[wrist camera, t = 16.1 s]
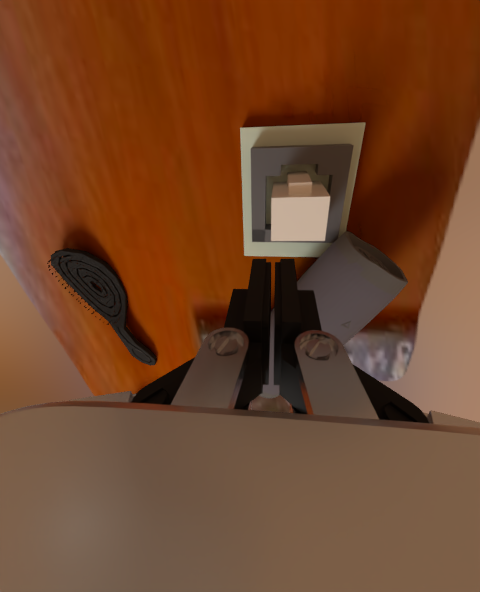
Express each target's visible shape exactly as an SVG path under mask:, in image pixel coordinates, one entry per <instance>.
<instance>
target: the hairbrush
mask: <svg viewBox="0 0 480 592" xmlns="http://www.w3.org/2000/svg"><path fill="white" fill-rule="evenodd" d="M62 256H63V257H62ZM69 260H71V261H69ZM50 261H51V266H53V268H55V270H56V271H57V273H59V274H60V275H61V277H62V279H63V280H65V281H66V282H67V283H66V282H65V283H66V284H68V287H69V285H70V286H71V287H72V288H73V289H74V292H77V293H78V295H80V296H81V297H82V298H83V299H84V300H85V302H87V303H88V305H89V306H91V307H92V308H93V309H94V310H96V311H97V312H98V313H99V314H100V315H102V316H103V317H104V318H105V319H106V320H108V321H109V323H110V324H111V326H112V327H113V329H114V330H115V332H116V333H117V335H118V336H119V337H120V339H121V340H122V342H123V343H124V345H125V346H126V347H127V349H128V350H129V352H130V353H131V355H132V356H133V357H135V358H136V359H138V360H139V361H141V362H142V363H145V364H148V365H155V364H156V359H157V358H156V356H155V355H154V354H153V353H152V352H151V351H150V350H149V349H148V348H147V347H145V346H144V345H143V344H141V343H140V342H139V341H138V340H137V339H136V338H135V337H134V335H133V334H132V333H131V332H130V330H129V329H128V328H127V327H126V314H127V303H128V301H127V295H126V292H125V290H124V287H123V284H122V282H121V281H120V279H119V278H118V275H117V274H116V272H115V271H114V270H113V269H112V268H111V267H110V266H109V265H108V264H107V263H106V262H104V261H103V260H101V259H99V258H97V257H95V256H93V255H92V254H90V253H88V252H86V251H81V250H75V249H70V248H66V249H62V250H58V251H55V253H54V254H52V255H51V260H50ZM50 261H48V262H50ZM47 264H48V263H47ZM48 266H49V267H50V265H48ZM49 267H48V268H49ZM49 270H51V269H49ZM56 271H55V273H56ZM52 275H53V273H52ZM56 277H57V276H56ZM59 281H60V280H59ZM59 281H58V282H59ZM94 283H95V285H96V284H97V285H98V287H101V290H100V289H99V288H98V287H97V286H95V285H94ZM62 285H63V284H62ZM71 287H70V288H71ZM65 289H66V287H65ZM69 293H70V292H69ZM107 294H108V295H107ZM71 295H72V294H71ZM106 295H107V296H106ZM73 296H74V295H73ZM82 298H81V299H82ZM76 300H77V299H76ZM115 301H116V302H115ZM78 302H79V301H78ZM82 302H83V301H82ZM115 303H116V305H114V304H115ZM80 304H81V303H80ZM113 305H114V306H113ZM85 306H86V305H85ZM85 306H84V307H85ZM85 308H86V307H85ZM88 310H89V309H88ZM120 310H121V311H120ZM96 311H95V312H96ZM119 311H120V312H119ZM91 314H92V313H91ZM95 317H96V316H95ZM99 320H100V319H99ZM107 325H109V324H107ZM155 358H156V359H155Z"/></svg>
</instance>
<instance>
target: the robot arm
mask: <svg viewBox="0 0 480 592" xmlns="http://www.w3.org/2000/svg"><path fill="white" fill-rule="evenodd" d="M270 323H271V262H266V259H253V261H252V267H251V274H250V280H249V286H248V289H233V292H232V296H231V301H230V305H229V309H228V313H227V317H226V321H225V326H224V328H220V329H217V330H215V331H213V332H211V333H210V334H209V335H208V336H207V337H206V338H205V340H204V342H203V344H202V346H201V347H200V349H199V351H198V353H197V355H196V357H195V358H193V359H191V360H190V361H188V362H186V363H184V364H183V365H181V366H179V367H178V368H176V369H174V370H172V371H171V372H169V373H167V374H166V375H164V376H162V377H160V378H159V379H157V380H155V381H154V382H152V383H150V384H149V385H147V386H145V387H144V388H142V389H141V390H140V391H139V392H138V393H137V394H132V393H131V391H128V392H121V393H114V394H107V395H101V396H94V397H87V398H81V399H73V400H69V401H64V402H51V403H45V404H39V405H33V406H27V407H23V408H20V409H16V410H12V411H8V412H5V413H2V414H0V592H480V423H479V422H475V421H471V420H467V419H463V418H459V417H455V416H451V415H447V414H443V413H439V412H435V411H430V412H429V414H427V413H423V412H422V411H421V410H420V409H419V408H418V407H417V406H415V405H414V404H413V403H411V402H410V401H408V400H407V399H405V398H404V397H402V396H400V395H399V394H397V393H396V392H395V391H393V390H391V389H390V388H388V387H387V386H385V385H383V384H382V383H381V382H379V381H378V380H376V379H375V378H373V377H371V376H370V375H368V374H367V373H365V372H364V371H362V370H361V369H359V368H358V367H356V366H355V365H353V364H352V363H351V361H350V359H349V357H348V355H347V353H346V351H345V349H344V346H343V344H342V343H341V342H340V340H339V339H338V338H336V337H335V336H334V335H332V334H330V333H328V332H324V331H322V328H321V324H320V319H319V314H318V309H317V304H316V299H315V294H314V291H313V290H298V289H297V280H296V271H295V262H294V259H281V261H280V262H275V308H274V385H279V395H281V396H282V397H284V398H285V399H286V400H287V401H288V402H289V403H290V413H283V412H269V411H254V410H251V408H252V400H253V399H255V398H256V397H257V396H259V395H260V394H263V385H269V358H270Z"/></svg>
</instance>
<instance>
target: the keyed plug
mask: <svg viewBox="0 0 480 592" xmlns="http://www.w3.org/2000/svg"><path fill="white" fill-rule="evenodd" d="M329 204H330V195H329V193H328V192H327V190H326V189H325V187H324V186H323V184H322V182H321V181H311V179H310V176H309V174H308V172H307V171H295V172H288V175H287V182H273V189H272V197H271V241H325V236H326V228H327V220H328V212H329Z"/></svg>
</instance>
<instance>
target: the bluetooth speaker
mask: <svg viewBox="0 0 480 592" xmlns="http://www.w3.org/2000/svg"><path fill="white" fill-rule="evenodd" d="M407 283H408V281H407V279H406V277H405V275H404V273H403V271H402V270H401V269H400V268H399V267H398V266H397V265H396V264H395V263H394V262H393V261H392V260H391V259H389V258H388V257H387V256H386V255H385V254H383V253H382V252H381V251H380V250H378V249H377V248H376V247H374V246H373V245H371V244H368V243H366V242H364V241H363V240H361V239H359V238H358V237H356V236H355V235H354V234H353V233H351V232H348V231H346V232H344V233H343V234H342V235H341V236H340V237H339V238H338V239H337V240H336V241H335V242H334V243H332V244H331V245H330V246H329V247H328V249H327V250H326V251H325V252H324V253H323V254H322V255H321V256H320V257H319V258H318V259H317V260H316V262H315V263H314V264H313V265H312V266H311V267H310V268H309V269H308V270H307V271H306V272H305V273H304V274H303V275H302V277H301V278H300V279H299V280H298V281H297V289H298V290H313V291H314V294H315V299H316V304H317V309H318V314H319V319H320V324H321V328H322V331H324V332H328V333H330V334H332V335H334V336H335V337H336V338H338V339H339V340H340V342H341V343H342V344H343V345H344V344H346V343H347V342H348V341H349V340H350V339H351V338H352V337H353V336H354V335H356V334H357V333H358V332H359V331H360V330H361V329H362V328H363V327H364V326H365V325H366V324H368V323H369V322H370V321H371V320H372V319H373V318H374V317H375V316H376V315H377V314H378V313H379V312H380V311H381V310H382V309H384V308H385V307H386V306H387V305H388V304H389V303H390V302H391V301H392V300H393V299H394V298H395V297H396V296H397V295H398V294H399V292H400V291H401V290H402V289H403V288H404V287H405V285H406V284H407ZM274 308H275V307H274ZM274 308H273V309H272V311H271V323H270V358H269V385H263V394H260V395H259V396H261V397H264V398H275V397H277V396H279V385H274Z"/></svg>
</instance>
